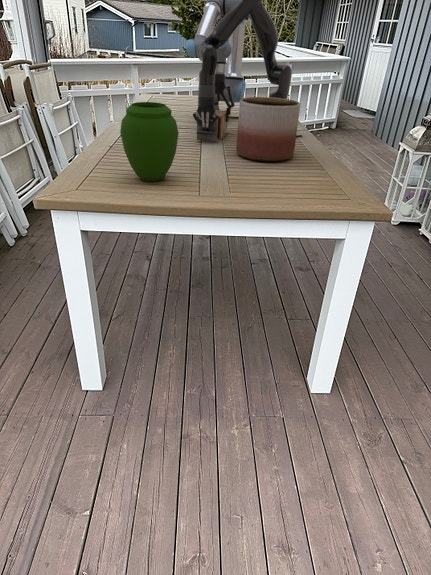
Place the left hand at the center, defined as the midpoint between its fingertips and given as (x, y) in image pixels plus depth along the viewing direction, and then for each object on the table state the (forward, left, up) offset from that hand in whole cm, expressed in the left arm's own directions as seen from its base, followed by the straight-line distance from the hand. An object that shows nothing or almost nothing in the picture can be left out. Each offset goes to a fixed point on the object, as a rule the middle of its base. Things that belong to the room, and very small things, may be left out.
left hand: (215, 120), depth 212 cm
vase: (+52, +66, -6) cm, 84 cm away
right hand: (+13, +19, -3) cm, 23 cm away
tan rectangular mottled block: (+3, +4, -6) cm, 8 cm away
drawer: (+9, +13, -5) cm, 17 cm away
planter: (-5, +47, -6) cm, 47 cm away
